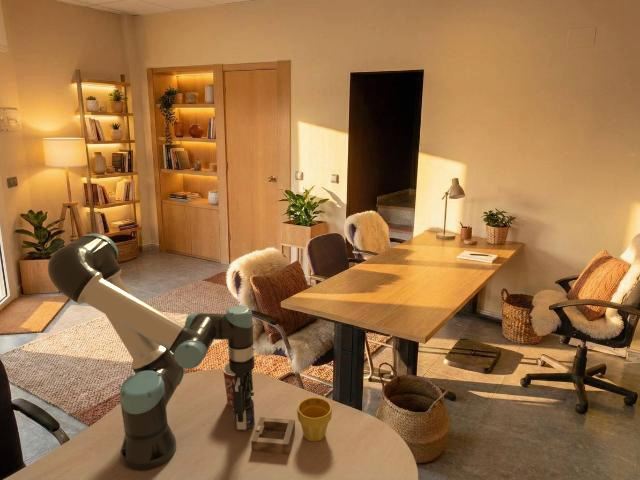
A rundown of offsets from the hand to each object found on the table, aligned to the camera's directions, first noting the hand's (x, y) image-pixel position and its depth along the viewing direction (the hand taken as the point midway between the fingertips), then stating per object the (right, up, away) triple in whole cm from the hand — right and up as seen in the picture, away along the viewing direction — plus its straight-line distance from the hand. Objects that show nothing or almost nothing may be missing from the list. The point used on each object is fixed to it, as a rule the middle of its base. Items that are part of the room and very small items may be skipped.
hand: (244, 421), depth 153 cm
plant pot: (+22, -3, -3) cm, 22 cm away
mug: (-4, +2, +14) cm, 14 cm away
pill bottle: (0, -2, +1) cm, 2 cm away
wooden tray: (+10, -3, -6) cm, 12 cm away
